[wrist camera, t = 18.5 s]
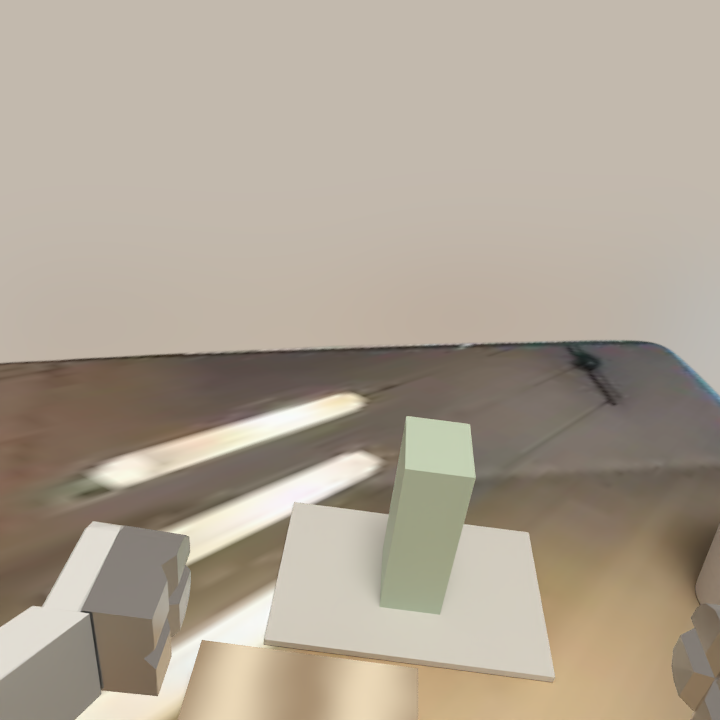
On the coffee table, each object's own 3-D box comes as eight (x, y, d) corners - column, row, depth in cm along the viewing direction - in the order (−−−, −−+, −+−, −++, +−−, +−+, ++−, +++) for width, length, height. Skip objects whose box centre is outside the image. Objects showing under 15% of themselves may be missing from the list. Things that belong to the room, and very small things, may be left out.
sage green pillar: (379, 606, 45) (405, 469, 39) (382, 549, 49) (406, 416, 43) (439, 614, 45) (475, 477, 39) (437, 556, 49) (469, 424, 43)
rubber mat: (264, 644, 42) (264, 639, 42) (293, 506, 53) (294, 502, 52) (553, 682, 42) (555, 677, 42) (526, 537, 52) (528, 532, 52)
